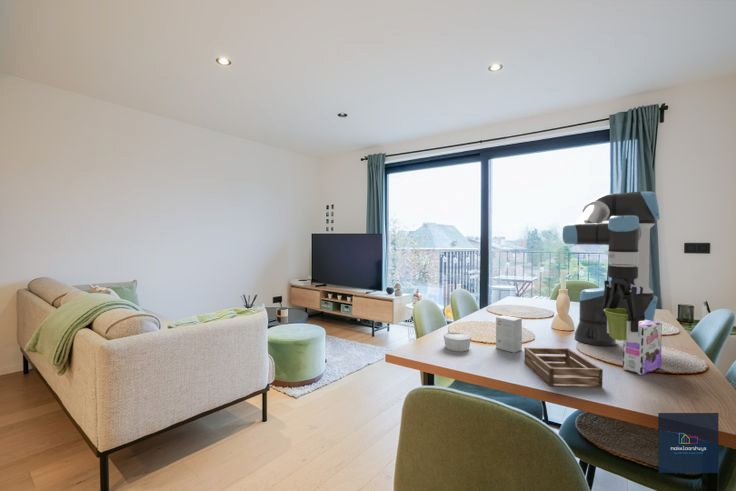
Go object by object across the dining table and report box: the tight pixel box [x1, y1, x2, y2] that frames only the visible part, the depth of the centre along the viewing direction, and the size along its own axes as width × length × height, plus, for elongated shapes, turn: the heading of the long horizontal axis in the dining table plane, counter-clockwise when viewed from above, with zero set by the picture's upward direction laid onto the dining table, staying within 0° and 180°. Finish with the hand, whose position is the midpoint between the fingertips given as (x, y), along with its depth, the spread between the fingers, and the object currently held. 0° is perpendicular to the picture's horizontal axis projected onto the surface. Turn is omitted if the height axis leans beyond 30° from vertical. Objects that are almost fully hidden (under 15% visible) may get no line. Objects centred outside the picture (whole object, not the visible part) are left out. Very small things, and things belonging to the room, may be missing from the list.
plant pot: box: [604, 308, 629, 341], centre depth 105 cm, size 9×9×9 cm
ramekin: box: [443, 331, 472, 353], centre depth 140 cm, size 11×11×5 cm
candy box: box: [622, 320, 663, 376], centre depth 118 cm, size 14×6×16 cm, turn 117°
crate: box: [523, 347, 604, 389], centre depth 113 cm, size 16×20×6 cm
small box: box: [495, 314, 523, 353], centre depth 139 cm, size 8×6×13 cm
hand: (621, 337), depth 106 cm, fingers closed on plant pot, 8 cm apart
